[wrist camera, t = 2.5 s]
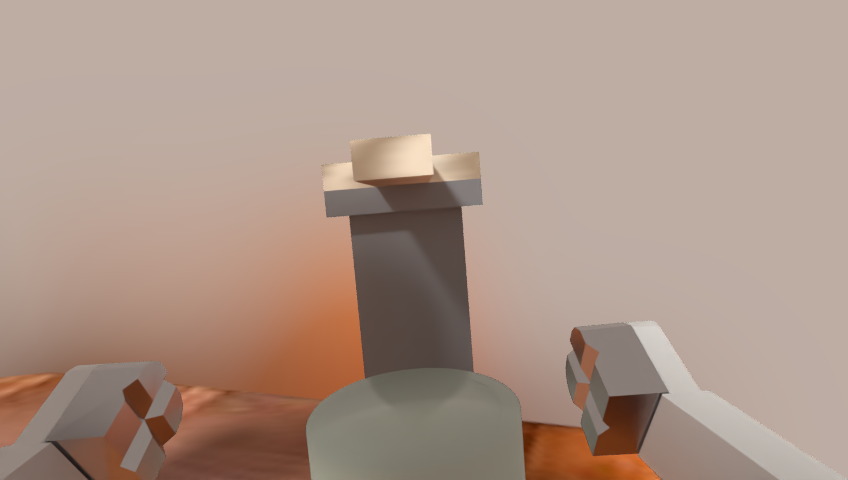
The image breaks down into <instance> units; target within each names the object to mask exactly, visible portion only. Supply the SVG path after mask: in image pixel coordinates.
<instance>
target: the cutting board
mask: <svg viewBox="0 0 848 480" xmlns="http://www.w3.org/2000/svg"><path fill="white" fill-rule="evenodd" d="M350 148H351V158H352V162H350V163H338V164H326V165H321V166H322V176H323V186H324V191H333V190H345V189H357V188H370V187H382V186H394V185H406V184H418V183H430V182H442V181H455V180H467V179H479V178H481V175H480V162H479V152H471V153H459V154H447V155H435V156H432V148H431V135H430V134H423V135H410V136H399V137H387V138H374V139H361V140H350Z"/></svg>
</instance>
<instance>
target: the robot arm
mask: <svg viewBox="0 0 848 480" xmlns="http://www.w3.org/2000/svg"><path fill="white" fill-rule="evenodd" d="M570 342H571V344H572V347H573V349H574V350H573V351H572V352H571V353H570V354H569V355H567V361H566V377H567V384H568V388H569V392H570V395H571V397H572V400H573V403H574V404H576V405H577V406H578V407H579V408H580V409H582V410H583V415H582V419H581V426H582V428H583V431H584V434H585V436H586V439H587V442H588V445H589V447H590V450H591V453H592V455H593V456H600V455H619V454H639V455H638V456H639V457H640V458H641V459H642V460H643V461H644V462H645V463H646V464H647V465H648V466H649V467H650V468H651V469H652V470H653V471H654V472H655V473H656V474H657V475H658V476H659V477H660V478H661V479H662V480H847V479H846V478H845V477H843V476H841V475H840V474H838V473H837V472H835V471H834V470H832V469H831V468H829V467H827V466H826V465H824V464H823V463H821V462H820V461H818V460H817V459H815V458H813V457H812V456H810V455H809V454H807V453H806V452H804V451H803V450H801V449H799V448H798V447H797V446H795V445H793V444H792V443H790V442H789V441H787V440H786V439H784V438H783V437H781V436H780V435H778V434H776V433H775V432H773V431H772V430H770V429H769V428H767V427H766V426H764V425H762V424H761V423H759V422H758V421H756V420H755V419H753V418H752V417H750V416H749V415H747V414H745V413H744V412H742V411H741V410H739V409H738V408H736V407H735V406H733V405H732V404H730V403H728V402H727V401H725V400H724V399H722V398H721V397H719V396H718V395H716V394H715V393H713V392H711V391H701V389H700V388H699V386H698V385H697V383H696V382H695V380H694V379H693V377H692V376H691V374H690V373H689V371H688V370H687V368H686V367H685V365H684V364H683V362H682V361H681V359H680V357H679V356H678V354H677V353H676V351H675V350H674V348H673V347H672V345H671V343H670V342H669V341H668V339H667V337H666V336H665V334H664V333H663V331H662V330H661V328H660V327H659V325H658V324H657V323H655V322H654V321H640V322H628V323H614V324H602V325H592V326H581V327H574V329H573V330H572V333H571V338H570ZM166 375H167V371H166V370H165V368H164V367H163V365H162V364H161V362H157V361H148V362H129V363H111V364H97V365H81V366H76V367H74V368H73V369H71V370H69V371H68V372H67V373H66V374H65V376H64V377H63V378H62V380H61V381H60V382H59V384H58V385H57V386H56V388H55V389H54V390H53V392H52V393H51V394H50V396H49V397H48V398H47V400H46V401H45V402H44V404H43V405H42V406H41V408H40V409H39V411H38V412H37V413H36V415H35V416H34V417H33V419H32V420H31V421H30V423H29V424H28V425H27V427H26V428H25V429H24V431H23V432H22V433H21V435H20V436H19V437H18V439H17V440H16V441H15V443H14V444H13V445H9V446H3V447H2V448H1V449H0V480H156V478H157V475H158V473H159V471H160V469H161V466H162V464H163V462H164V460H165V457H166V454H165V450H164V447H163V445H164V444H165V443H166V442H167V441H168V440H170V439H171V438H172V437H173V436H174V435H175V434H176V432H177V429H178V427H179V425H180V422H181V419H182V411H183V402H182V397H181V394H180V392H179V390H178V389H177V387H176V386H174V385H173V384H171V383H169V382H167V381H165V380H164V379H165V377H166Z"/></svg>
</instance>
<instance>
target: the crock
mask: <svg viewBox="0 0 848 480" xmlns="http://www.w3.org/2000/svg"><path fill="white" fill-rule="evenodd" d="M306 437H307V446H308V455H309V464H310V473H311V480H525V464H524V449H523V433H522V418H521V405H520V402H519V400H518V398H517V396H516V395H515V393H514V392H512V390H511V389H510V388H508V387H507V386H506V385H504V384H503V383H501V382H499V381H497V380H495V379H493V378H491V377H488V376H485V375H482V374H479V373H475V372H470V371H465V370H459V369H449V368H418V369H407V370H400V371H393V372H389V373H384V374H380V375H376V376H372V377H369V378H366V379H363V380H360V381H357V382H355V383H352V384H350V385H348V386H346V387H343V388H341V389H340V390H338V391H336V392H334V393H333V394H331V395H330V396H328V397H327V398H326V399H324V400H323V401H322V402H321V403H320V404H319V405H318V406H317V407H316V408H315V409H314V410H313V412H312V413H311V415H310V416H309V419H308V421H307V424H306Z"/></svg>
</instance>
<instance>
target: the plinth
mask: <svg viewBox="0 0 848 480" xmlns="http://www.w3.org/2000/svg"><path fill="white" fill-rule="evenodd" d="M324 195H325V206H326V215H327V217H336V216H349V218H350V228H351V238H352V247H353V248H352V249H353V259H354V269H355V279H356V290H357V300H358V310H359V319H360V331H361V340H362V350H363V361H364V370H365V371H364V372H365V379H366V378H369V377H372V376H376V375H380V374H384V373H389V372H393V371H400V370H407V369H418V368H449V369H459V370H465V371H470V372H474V371H473V357H472V345H471V331H470V317H469V303H468V291H467V276H466V263H465V250H464V236H463V223H462V209H461V206H470V205H481V204H482V190H481V178H479V179H467V180H455V181H442V182H430V183H418V184H406V185H394V186H382V187H370V188H357V189H345V190H333V191H324Z"/></svg>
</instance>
